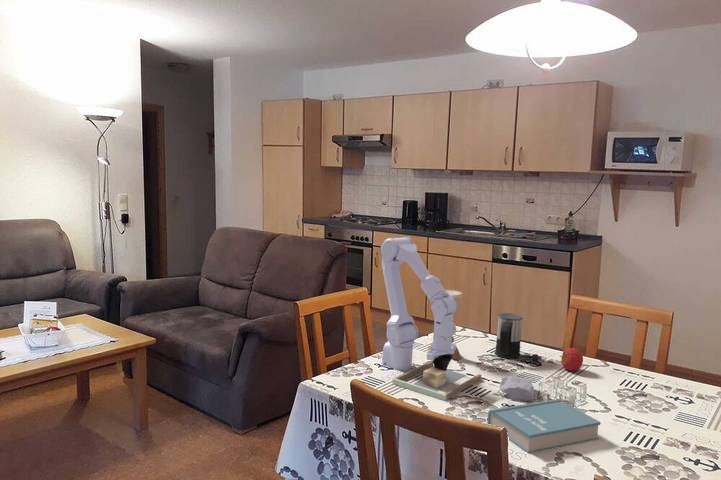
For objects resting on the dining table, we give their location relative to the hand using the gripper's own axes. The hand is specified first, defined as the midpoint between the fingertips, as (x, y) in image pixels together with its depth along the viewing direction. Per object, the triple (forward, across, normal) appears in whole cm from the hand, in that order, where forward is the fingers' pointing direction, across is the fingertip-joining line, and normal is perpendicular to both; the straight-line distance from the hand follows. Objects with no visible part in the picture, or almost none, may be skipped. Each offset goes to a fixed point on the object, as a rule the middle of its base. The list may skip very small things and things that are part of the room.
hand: (440, 377), depth 175 cm
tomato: (+3, +44, -26) cm, 51 cm away
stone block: (+3, +11, -20) cm, 23 cm away
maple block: (+1, -4, 0) cm, 4 cm away
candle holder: (+3, +24, +12) cm, 27 cm away
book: (+3, -10, -36) cm, 37 cm away
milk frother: (+3, +43, -8) cm, 44 cm away
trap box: (+2, -1, 0) cm, 3 cm away
